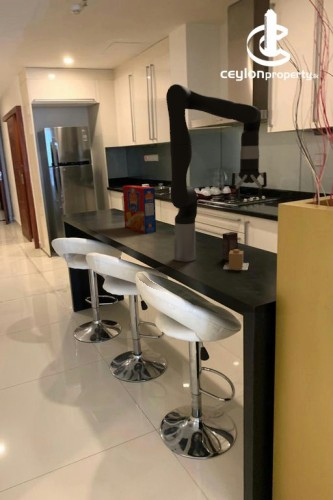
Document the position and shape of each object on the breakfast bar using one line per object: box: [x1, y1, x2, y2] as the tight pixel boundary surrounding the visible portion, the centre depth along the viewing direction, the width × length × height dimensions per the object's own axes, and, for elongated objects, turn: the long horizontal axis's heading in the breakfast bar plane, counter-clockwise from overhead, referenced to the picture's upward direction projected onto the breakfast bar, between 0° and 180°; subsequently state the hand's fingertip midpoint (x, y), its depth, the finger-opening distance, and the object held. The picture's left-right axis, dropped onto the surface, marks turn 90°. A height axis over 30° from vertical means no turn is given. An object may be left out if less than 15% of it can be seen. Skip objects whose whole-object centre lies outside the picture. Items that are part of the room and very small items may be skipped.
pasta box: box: [122, 184, 157, 235], centre depth 250 cm, size 28×8×28 cm, turn 32°
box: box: [222, 231, 239, 261], centre depth 178 cm, size 6×4×12 cm
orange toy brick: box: [228, 248, 244, 268], centre depth 165 cm, size 6×6×7 cm
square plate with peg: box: [222, 261, 250, 272], centre depth 165 cm, size 10×10×4 cm
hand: (248, 197), depth 161 cm, fingers open, 8 cm apart
